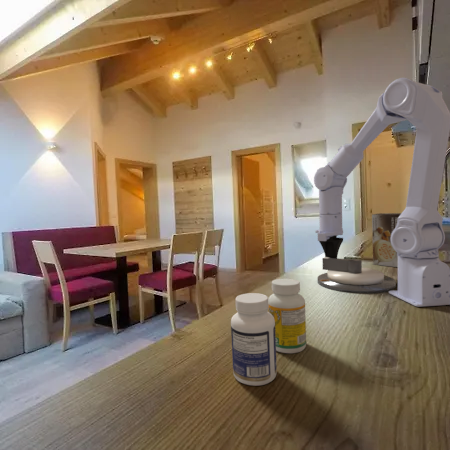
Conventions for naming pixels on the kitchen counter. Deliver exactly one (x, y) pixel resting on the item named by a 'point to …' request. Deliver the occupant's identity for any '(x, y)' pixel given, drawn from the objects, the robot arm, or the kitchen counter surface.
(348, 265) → the dial
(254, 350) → the pill bottle
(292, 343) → the supplement bottle
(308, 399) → the kitchen counter surface
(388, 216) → the coffee box
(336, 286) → the dial plate
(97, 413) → the kitchen counter surface
